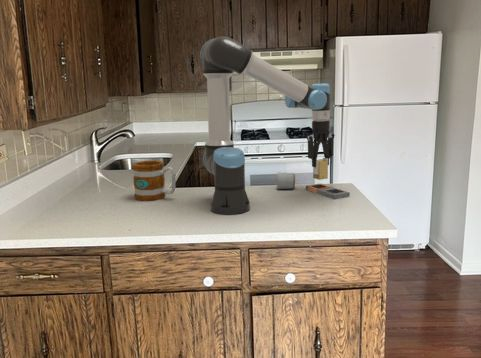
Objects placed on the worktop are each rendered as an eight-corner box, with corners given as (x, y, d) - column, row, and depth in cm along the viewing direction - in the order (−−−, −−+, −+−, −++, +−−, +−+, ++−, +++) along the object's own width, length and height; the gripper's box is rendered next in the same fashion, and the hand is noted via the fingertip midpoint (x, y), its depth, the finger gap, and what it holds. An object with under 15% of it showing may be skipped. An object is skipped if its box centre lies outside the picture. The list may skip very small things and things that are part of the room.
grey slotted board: (334, 199, 192) (334, 194, 191) (305, 189, 209) (305, 185, 208) (349, 196, 195) (349, 191, 195) (320, 187, 212) (320, 183, 212)
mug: (128, 200, 198) (125, 165, 195) (145, 192, 210) (143, 159, 207) (168, 203, 191) (166, 167, 187) (184, 195, 203) (182, 162, 200)
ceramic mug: (295, 190, 208) (295, 173, 206) (277, 190, 208) (277, 173, 207) (293, 185, 218) (293, 169, 216) (276, 185, 218) (276, 169, 217)
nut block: (319, 179, 202) (319, 161, 200) (313, 178, 206) (313, 160, 204) (327, 178, 204) (327, 160, 203) (321, 176, 208) (321, 159, 206)
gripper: (309, 122, 192) (309, 177, 197) (342, 119, 200) (341, 172, 205) (298, 121, 199) (299, 174, 204) (331, 118, 207) (330, 169, 212)
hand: (320, 173), depth 205 cm, fingers closed on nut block, 4 cm apart
